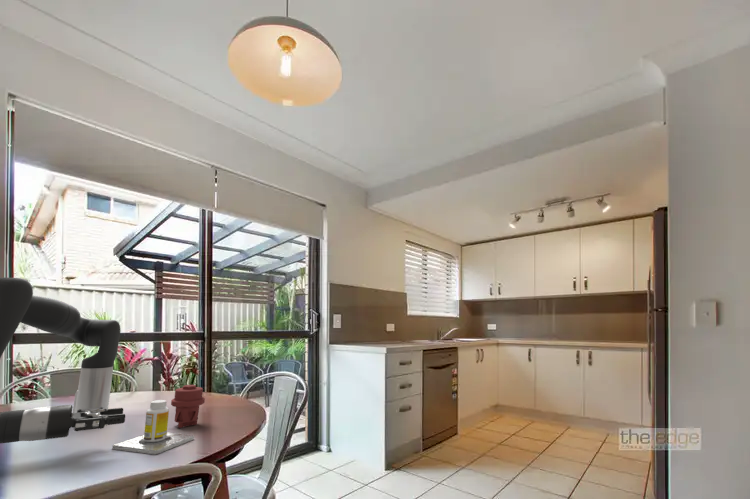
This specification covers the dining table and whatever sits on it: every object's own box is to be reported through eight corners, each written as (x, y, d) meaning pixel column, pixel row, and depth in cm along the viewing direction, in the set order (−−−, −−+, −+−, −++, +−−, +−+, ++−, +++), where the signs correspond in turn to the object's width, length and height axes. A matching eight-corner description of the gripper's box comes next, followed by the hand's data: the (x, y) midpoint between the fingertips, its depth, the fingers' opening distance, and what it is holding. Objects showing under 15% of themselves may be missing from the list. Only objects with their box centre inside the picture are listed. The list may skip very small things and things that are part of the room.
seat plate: (112, 449, 105) (112, 444, 106) (154, 434, 119) (154, 431, 119) (155, 454, 102) (156, 450, 102) (193, 439, 115) (194, 435, 115)
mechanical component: (208, 422, 134) (189, 430, 124) (182, 420, 136) (161, 428, 126) (212, 384, 136) (193, 388, 126) (186, 382, 138) (165, 387, 128)
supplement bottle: (169, 436, 113) (172, 399, 115) (162, 442, 108) (166, 403, 110) (147, 437, 112) (151, 399, 114) (140, 443, 107) (144, 403, 109)
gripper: (46, 412, 93) (127, 405, 102) (51, 401, 104) (124, 396, 113) (41, 446, 92) (124, 436, 101) (46, 432, 103) (120, 424, 112)
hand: (123, 415), depth 107 cm, fingers open, 8 cm apart
